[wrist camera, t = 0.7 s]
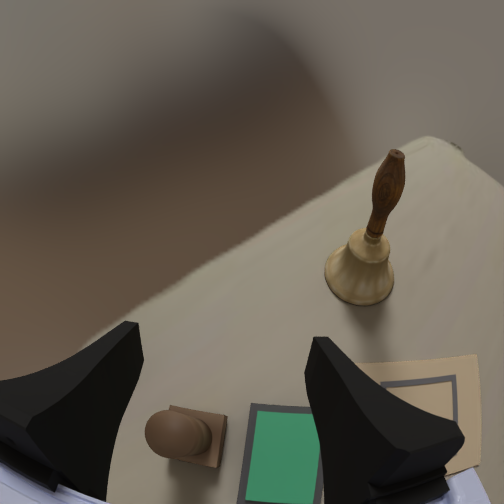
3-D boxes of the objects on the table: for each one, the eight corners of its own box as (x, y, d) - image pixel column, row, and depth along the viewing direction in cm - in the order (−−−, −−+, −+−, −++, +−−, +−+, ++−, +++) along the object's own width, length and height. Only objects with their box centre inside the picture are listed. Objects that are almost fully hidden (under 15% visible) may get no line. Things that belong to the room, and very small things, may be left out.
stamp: (221, 465, 20) (198, 474, 14) (169, 454, 21) (131, 455, 15) (228, 416, 23) (209, 408, 17) (177, 407, 24) (143, 394, 18)
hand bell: (322, 244, 34) (335, 124, 21) (386, 245, 33) (423, 133, 20) (326, 306, 29) (354, 187, 16) (398, 305, 28) (462, 196, 15)
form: (478, 464, 15) (480, 463, 15) (336, 492, 17) (337, 492, 17) (475, 354, 23) (477, 353, 23) (345, 363, 25) (346, 362, 25)
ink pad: (317, 506, 17) (319, 510, 15) (238, 501, 18) (235, 505, 17) (328, 408, 23) (331, 406, 21) (252, 404, 24) (250, 402, 22)
